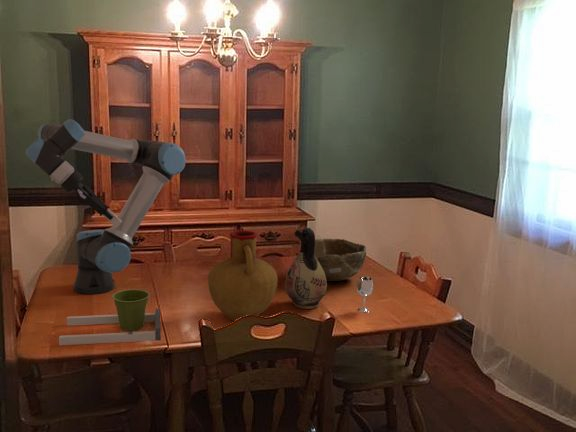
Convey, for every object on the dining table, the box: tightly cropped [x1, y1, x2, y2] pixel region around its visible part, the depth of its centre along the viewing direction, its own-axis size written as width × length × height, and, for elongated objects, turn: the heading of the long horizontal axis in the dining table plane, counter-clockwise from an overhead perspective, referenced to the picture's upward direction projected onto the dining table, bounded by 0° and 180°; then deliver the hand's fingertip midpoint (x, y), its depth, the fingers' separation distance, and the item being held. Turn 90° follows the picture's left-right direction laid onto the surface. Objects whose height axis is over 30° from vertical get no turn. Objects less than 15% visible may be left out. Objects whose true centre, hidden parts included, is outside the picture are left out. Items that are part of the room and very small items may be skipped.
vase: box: [207, 230, 278, 321], centre depth 214 cm, size 24×24×30 cm
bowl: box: [314, 238, 367, 282], centre depth 261 cm, size 28×27×15 cm
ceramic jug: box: [284, 227, 328, 310], centre depth 228 cm, size 17×15×30 cm
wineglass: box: [356, 276, 374, 313], centre depth 226 cm, size 6×6×12 cm
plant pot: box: [111, 288, 151, 332], centre depth 204 cm, size 12×12×11 cm
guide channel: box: [58, 308, 161, 346], centre depth 201 cm, size 30×18×4 cm, turn 101°
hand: (119, 224), depth 219 cm, fingers closed
